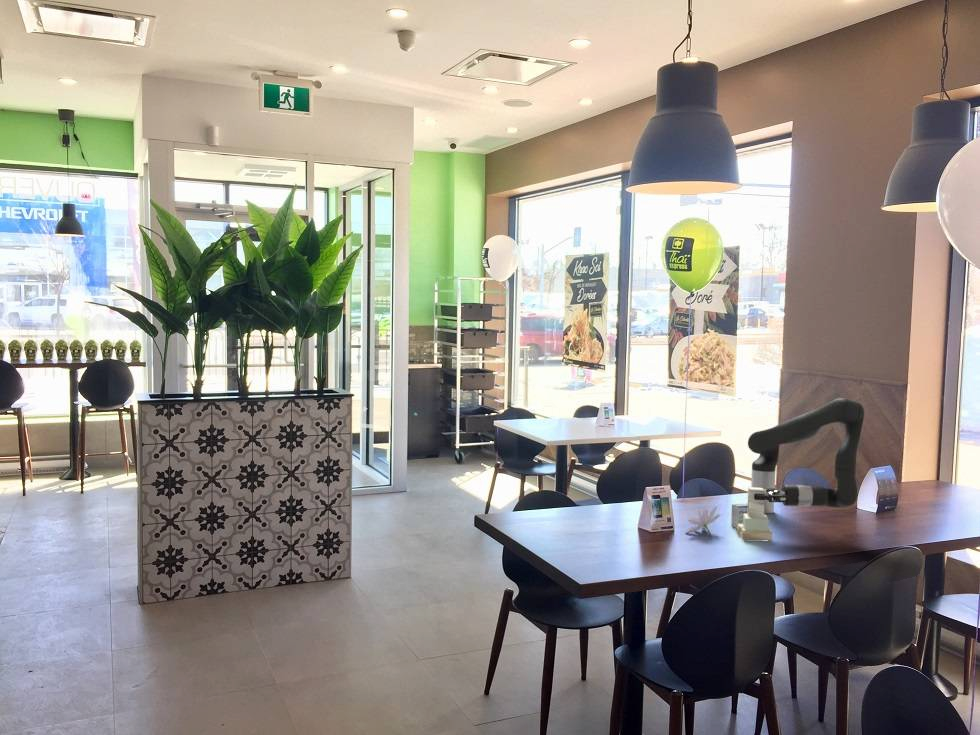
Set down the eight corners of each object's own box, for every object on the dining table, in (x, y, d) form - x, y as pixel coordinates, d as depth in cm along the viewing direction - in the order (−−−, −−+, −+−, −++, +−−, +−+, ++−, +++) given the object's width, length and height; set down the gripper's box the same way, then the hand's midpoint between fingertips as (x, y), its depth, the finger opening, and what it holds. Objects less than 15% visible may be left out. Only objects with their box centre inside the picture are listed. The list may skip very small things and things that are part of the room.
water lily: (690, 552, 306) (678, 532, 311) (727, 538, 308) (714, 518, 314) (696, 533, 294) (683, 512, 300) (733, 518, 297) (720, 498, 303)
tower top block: (742, 524, 306) (743, 513, 306) (765, 525, 305) (766, 515, 305) (744, 529, 299) (745, 518, 298) (768, 531, 297) (768, 520, 297)
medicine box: (737, 529, 314) (738, 506, 313) (730, 526, 318) (731, 503, 318) (755, 527, 316) (756, 505, 315) (749, 525, 320) (749, 502, 320)
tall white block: (747, 514, 305) (748, 487, 304) (761, 515, 304) (762, 487, 304) (749, 517, 300) (750, 489, 299) (763, 518, 299) (764, 490, 299)
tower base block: (736, 534, 307) (737, 523, 307) (764, 535, 306) (764, 524, 306) (742, 541, 297) (743, 530, 297) (771, 542, 297) (772, 531, 296)
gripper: (791, 481, 308) (747, 480, 309) (803, 489, 294) (756, 487, 295) (791, 501, 308) (746, 500, 309) (802, 510, 294) (755, 508, 295)
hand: (751, 494), depth 302 cm, fingers open, 8 cm apart
